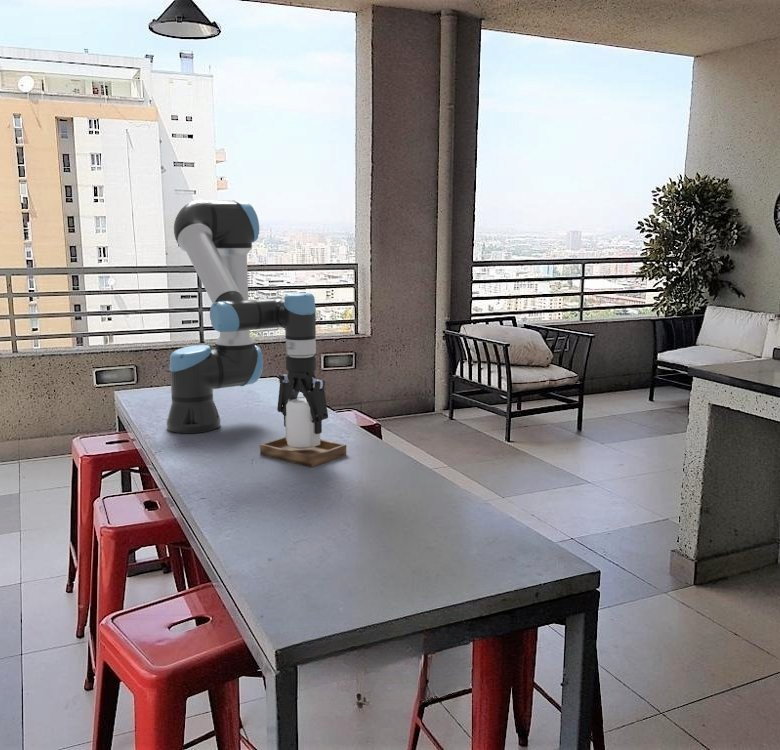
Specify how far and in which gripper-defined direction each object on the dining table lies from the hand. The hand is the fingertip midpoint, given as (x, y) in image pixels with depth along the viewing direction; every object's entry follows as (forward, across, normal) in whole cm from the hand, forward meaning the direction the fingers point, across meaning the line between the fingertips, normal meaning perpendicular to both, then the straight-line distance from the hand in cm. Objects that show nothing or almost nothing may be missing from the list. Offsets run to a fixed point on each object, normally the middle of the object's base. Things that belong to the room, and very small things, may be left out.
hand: (302, 442), depth 190 cm
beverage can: (+1, 0, 0) cm, 1 cm away
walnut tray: (+3, 0, 0) cm, 3 cm away
